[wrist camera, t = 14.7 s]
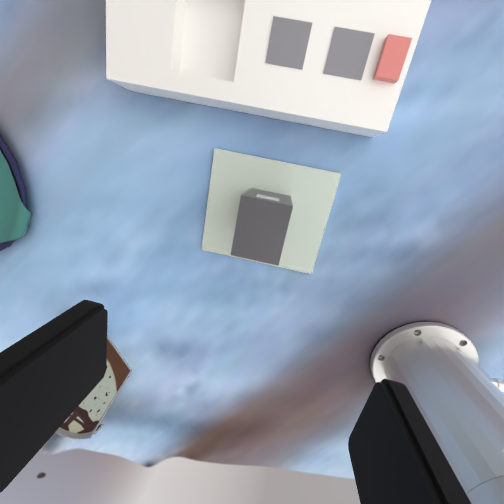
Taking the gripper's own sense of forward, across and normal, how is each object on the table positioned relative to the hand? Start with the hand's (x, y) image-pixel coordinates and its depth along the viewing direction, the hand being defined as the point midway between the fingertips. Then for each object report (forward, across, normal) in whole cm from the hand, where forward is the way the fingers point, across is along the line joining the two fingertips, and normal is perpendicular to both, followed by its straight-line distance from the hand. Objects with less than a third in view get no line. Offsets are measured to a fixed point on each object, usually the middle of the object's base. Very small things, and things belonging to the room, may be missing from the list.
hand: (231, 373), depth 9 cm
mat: (+23, +1, -2) cm, 23 cm away
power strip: (+22, +5, -17) cm, 28 cm away
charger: (+22, +1, -2) cm, 22 cm away
